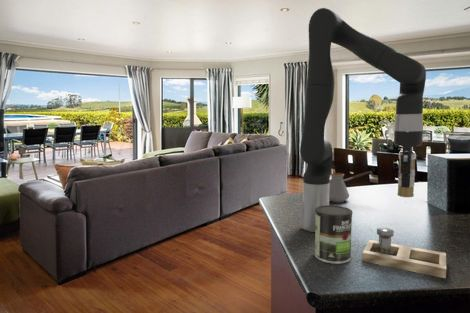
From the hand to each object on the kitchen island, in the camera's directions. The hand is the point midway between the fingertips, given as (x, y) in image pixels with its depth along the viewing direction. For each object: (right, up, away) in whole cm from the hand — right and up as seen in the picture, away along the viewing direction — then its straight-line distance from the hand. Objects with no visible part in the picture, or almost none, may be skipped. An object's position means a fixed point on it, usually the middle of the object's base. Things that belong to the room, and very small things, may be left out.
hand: (405, 185), depth 100 cm
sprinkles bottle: (0, -4, 0) cm, 3 cm away
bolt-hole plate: (-5, -21, -8) cm, 22 cm away
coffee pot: (+1, -13, +56) cm, 58 cm away
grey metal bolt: (-9, -20, -5) cm, 23 cm away
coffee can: (-23, -21, -4) cm, 31 cm away
